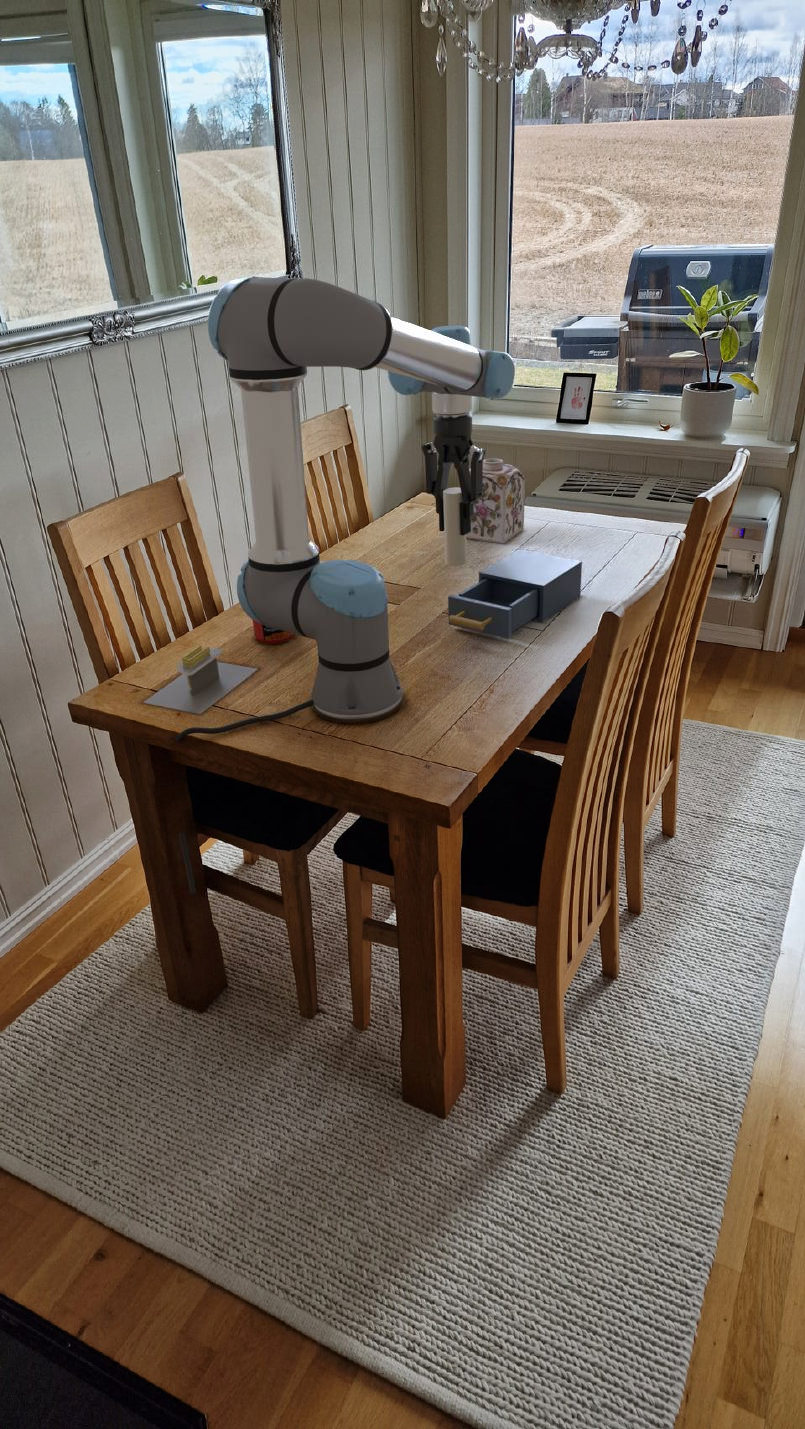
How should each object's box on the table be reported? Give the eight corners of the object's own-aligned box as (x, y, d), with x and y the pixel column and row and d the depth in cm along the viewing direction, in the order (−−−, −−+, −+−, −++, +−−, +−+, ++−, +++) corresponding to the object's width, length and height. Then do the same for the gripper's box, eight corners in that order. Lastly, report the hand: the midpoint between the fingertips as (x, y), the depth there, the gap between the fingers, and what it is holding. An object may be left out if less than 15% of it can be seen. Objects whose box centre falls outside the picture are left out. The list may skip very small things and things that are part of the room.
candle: (455, 567, 196) (453, 495, 189) (440, 562, 199) (438, 491, 192) (471, 561, 199) (469, 490, 191) (456, 557, 201) (454, 486, 194)
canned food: (266, 648, 182) (259, 593, 177) (247, 634, 188) (240, 581, 183) (301, 637, 186) (296, 584, 180) (282, 625, 192) (276, 572, 186)
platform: (142, 702, 165) (135, 668, 162) (203, 659, 179) (198, 626, 176) (200, 714, 160) (194, 678, 157) (258, 668, 175) (254, 635, 171)
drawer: (495, 648, 176) (495, 618, 173) (435, 632, 183) (434, 604, 180) (547, 613, 189) (547, 585, 186) (488, 599, 196) (488, 572, 193)
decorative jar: (460, 538, 233) (459, 463, 225) (481, 524, 242) (481, 452, 233) (505, 544, 228) (506, 468, 219) (525, 530, 236) (527, 456, 228)
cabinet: (542, 622, 187) (543, 585, 183) (479, 607, 195) (478, 572, 191) (580, 596, 198) (582, 561, 194) (518, 583, 206) (519, 549, 202)
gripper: (501, 413, 182) (501, 532, 193) (426, 405, 191) (430, 519, 203) (480, 421, 177) (481, 543, 188) (403, 413, 186) (409, 530, 198)
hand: (455, 531), depth 196 cm, fingers closed on candle, 4 cm apart
